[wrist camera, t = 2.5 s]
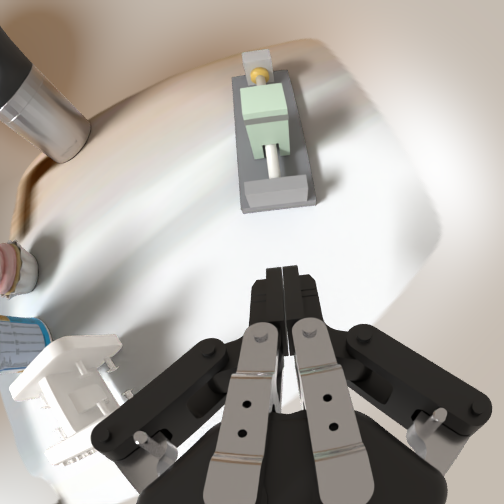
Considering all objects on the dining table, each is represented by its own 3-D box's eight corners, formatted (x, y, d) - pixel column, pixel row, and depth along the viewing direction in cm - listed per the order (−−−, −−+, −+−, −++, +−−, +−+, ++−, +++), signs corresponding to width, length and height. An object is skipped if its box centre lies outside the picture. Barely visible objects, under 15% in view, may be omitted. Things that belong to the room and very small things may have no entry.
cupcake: (25, 314, 33) (-22, 309, 24) (11, 271, 36) (-31, 259, 26) (51, 278, 34) (1, 265, 24) (35, 235, 36) (-9, 217, 27)
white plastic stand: (128, 328, 31) (60, 328, 19) (178, 403, 28) (123, 439, 17) (64, 380, 30) (3, 390, 19) (103, 445, 27) (48, 472, 16)
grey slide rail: (315, 205, 30) (319, 181, 25) (243, 213, 31) (232, 191, 26) (287, 76, 35) (285, 47, 30) (233, 84, 36) (225, 55, 31)
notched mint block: (290, 155, 30) (287, 109, 23) (254, 159, 31) (241, 115, 23) (285, 129, 31) (281, 82, 23) (251, 134, 32) (239, 88, 24)
